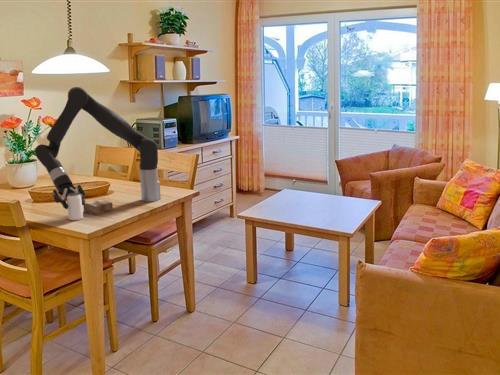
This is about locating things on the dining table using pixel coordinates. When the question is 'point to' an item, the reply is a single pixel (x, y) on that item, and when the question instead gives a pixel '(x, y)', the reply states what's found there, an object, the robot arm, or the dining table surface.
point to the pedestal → (98, 207)
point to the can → (74, 206)
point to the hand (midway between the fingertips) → (75, 206)
